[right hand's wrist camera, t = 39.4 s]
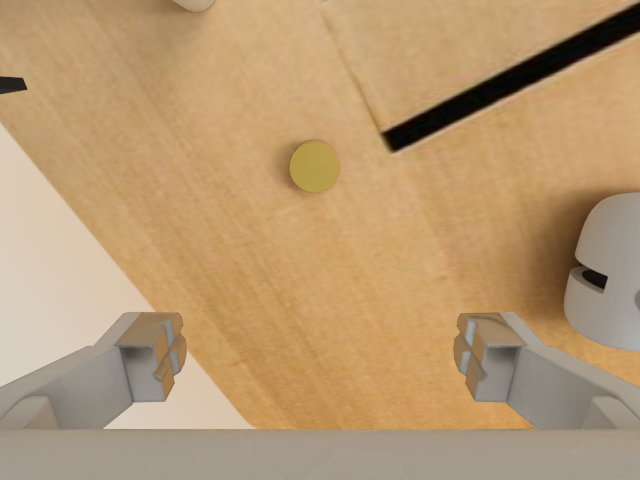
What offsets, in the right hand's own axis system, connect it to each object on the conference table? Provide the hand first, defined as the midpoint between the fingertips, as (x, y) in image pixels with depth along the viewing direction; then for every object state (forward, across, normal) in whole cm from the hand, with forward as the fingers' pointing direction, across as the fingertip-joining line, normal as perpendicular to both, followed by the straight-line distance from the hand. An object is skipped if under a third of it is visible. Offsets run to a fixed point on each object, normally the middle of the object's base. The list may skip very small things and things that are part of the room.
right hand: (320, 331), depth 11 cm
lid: (+27, 0, 0) cm, 27 cm away
